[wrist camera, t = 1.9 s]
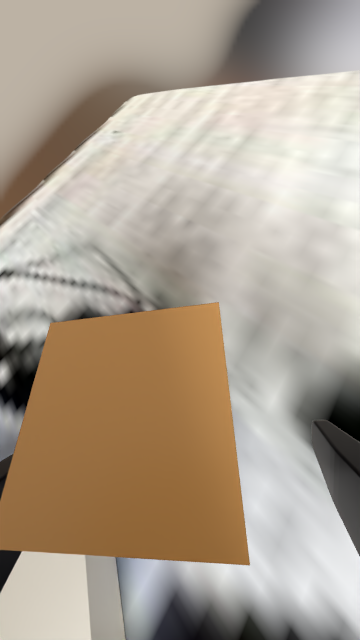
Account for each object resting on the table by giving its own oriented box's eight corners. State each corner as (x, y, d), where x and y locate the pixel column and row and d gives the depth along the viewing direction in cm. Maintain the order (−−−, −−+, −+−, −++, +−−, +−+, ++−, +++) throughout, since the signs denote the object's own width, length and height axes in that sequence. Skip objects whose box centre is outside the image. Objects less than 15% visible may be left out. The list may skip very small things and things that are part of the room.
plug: (236, 470, 14) (249, 565, 3) (173, 470, 15) (-14, 549, 4) (229, 402, 16) (218, 301, 5) (172, 405, 17) (50, 323, 6)
